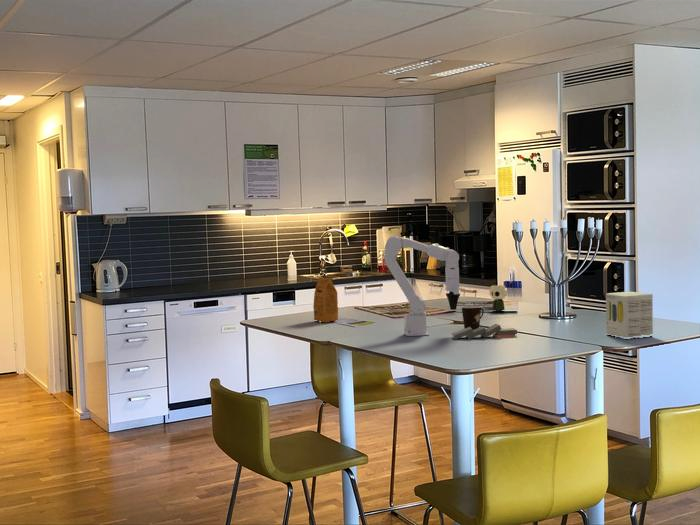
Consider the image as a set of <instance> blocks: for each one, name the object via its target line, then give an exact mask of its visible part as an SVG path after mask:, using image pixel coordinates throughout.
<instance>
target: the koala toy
mask: <svg viewBox="0 0 700 525" xmlns="http://www.w3.org/2000/svg"><path fill="white" fill-rule="evenodd" d="M489 296H490V297H491V299H493V302H492V309H491V310H493V311H495V312H500V310H502V311H505V310H506V309H505V304H504V300H503V299H506V297H508V290H507V289H506V286H505V285H491V286H490V288H489Z"/></svg>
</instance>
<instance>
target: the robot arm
mask: <svg viewBox="0 0 700 525" xmlns="http://www.w3.org/2000/svg"><path fill="white" fill-rule="evenodd" d="M409 248H410V249H413V250H417V251H420V252H424V253H427V256H428V257H430V258H433V259H434V260H435V259H437V260H439V261H441V262H443V261H445V268H444V269H445V291H446V292H447V293H445V296H446V297H447V300H448V305H449V310H451V311H452V310H453V311H455V310H457V307H458V302H459V299H460V296H461V293H460V291H461V290H463V288H462V287H460V268H459V260H460V256H459V253H458V252H457V251H455V250H454V249H452V248H451V249H450V247H448V246H447V247H444V246H442V245H440V244H439V243H431V244H429V245H427V244H425V243H422V242H419V241H418V240H414V239H411V238H408V237H402V236H400V237H399V236H397V235H392V236H390V237H389V238H387V240H386V243H385V246H384V263H385V265H386V266H387V268H388V270H389V272H390V273H391V275H392V276H393V277H394V279H395V281H396V284H398V286H399V288H400V289H401V291H402V292H403V294H404V296H405V297H406V299H407V302H409V307H410V311H409V312H408V314H404V316H403V320H404V321H403V328H404V329H403V330H404V335H405V336H406V337H414V336H415V337H417V336H430V334H429V333H428V331H427V312H426V311H425V310H426V304H425V302H424V300H423V299H422V298H421V297H419V296H418V294H417V292H416V291H415V289H414V288H413V286H412V285H411V283H410V281H409V280H408V278H407V276H406V275H405V273H404V271H403V269H402V268H401V267H400V265H399V263H398V261H397V257H398V253H399V251H400V250H401V249H403V250H404V249H409Z"/></svg>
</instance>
